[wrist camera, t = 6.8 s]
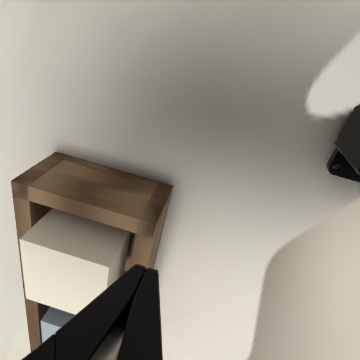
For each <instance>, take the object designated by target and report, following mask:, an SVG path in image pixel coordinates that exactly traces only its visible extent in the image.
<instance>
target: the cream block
mask: <svg viewBox="0 0 360 360" xmlns="http://www.w3.org/2000/svg"><path fill="white" fill-rule="evenodd" d="M130 233H131V232H130V231H127V230H123V229H120V228H117V227H113V226H110V225H107V224H104V223H100V222H97V221H94V220H91V219H87V218H84V217H81V216H77V215H74V214H71V213H68V212H64V211H61V210H58V209H55V208H52V209H51V210H50V211H49V212H48V213H47V214H46V215H45V216H43V217H42V218H41V219H40V220H39V221H38V222H37V223H36V224H35V225H34V226H33V227H32V228H31V229H30V230H29V231H27V232H26V233H25V234H24V235H23V236H22V237H21V238H20V239H19V241H20V250H21V259H22V267H23V276H24V285H25V294H26V299H29V300H32V301H35V302H38V303H41V304H44V305H47V306H50V307H54V308H57V309H60V310H63V311H66V312H69V313H72V314H75V315H76V314H77V313H78V312H80V311H81V310H82V309H83V308H84V307H85V306H87V305H88V304H89V303H90V302H91V301H92V300H94V299H95V298H96V297H97V296H98V295H100V294H101V293H102V292H103V291H104V290H105V289H107V288H108V287H109V286H110V285H111V284H112V283H114V282H115V281H116V280H117V279H118V278H119V277H121V276H122V275H123V274H124V270H125V264H126V258H127V252H128V246H129V240H130Z"/></svg>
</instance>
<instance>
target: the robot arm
mask: <svg viewBox="0 0 360 360" xmlns="http://www.w3.org/2000/svg"><path fill="white" fill-rule="evenodd" d="M335 145H336V147H337V148H336V150H335V151H334V153H333V155H332V157H331V159H330V160H329V162H328V164H327V169H328V171H329V172H330V173H331V174H333V175H336V176H339V177H343V178H346V179H350V180H354V181H357V182H360V105H358V106H356V107H355V108H354V110H353V112H352V114H351V115H350V117H349V119H348V121H347V123H346V124H345V126H344V128H343V130H342V132H341V134H340V135H339V137H338V139H337V141H336V143H335ZM335 165H339V167H338V168H337V169H333V167H334V166H335ZM119 347H120V348H119ZM118 349H119V352H118V356H117V359H116V360H163V356H162V336H161V315H160V295H159V274H158V271H157V270H155V269H152V268H146V267H145V266H142V265H139V264H135V265H134V266H132V267H131V268H130V269H129V270H128V271H127V272H125V273H124V274H123V275H122V276H121V277H119V278H118V279H117V280H116V281H115V282H114V283H112V284H111V285H110V286H109V287H108V288H107V289H105V290H104V291H103V292H102V293H101V294H100V295H98V296H97V297H96V298H95V299H94V300H92V301H91V302H90V303H89V304H88V305H87V306H85V307H84V308H83V309H82V310H81V311H80V312H78V313H77V314H76V315H75V316H74V317H72V318H71V319H70V320H69V321H68V322H67V323H65V324H64V325H63V326H62V327H61V328H60V329H58V330H57V331H56V332H55V334H52V335H51V336H50V337H49V338H48V339H46V340H45V341H44V342H43V343H42V344H41V345H39V346H38V347H37V348H36V349H34V350H33V351H32V352H31V353H29V354H28V355H27V356H26V357H24V358H23V359H22V360H113V359H114V357H115V355H116V353H117V351H118Z"/></svg>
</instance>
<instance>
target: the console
mask: <svg viewBox="0 0 360 360" xmlns="http://www.w3.org/2000/svg"><path fill="white" fill-rule="evenodd" d="M11 185H12V193H13V202H14V211H15V219H16V228H17V236H18V245H19V253H20V262H21V271H22V279H23V288H24V296H25V305H26V314H27V322H28V331H29V339H30V348H31V352H32V351H33V350H34V349H36V348H37V347H38V346H39V345H41V344H42V332H41V320H42V318H43V317H44V315H45V314H46V312H47V311H48V309H49V308H50V306H47V305H44V304H41V303H38V302H35V301H32V300H29V299H26V294H25V285H24V276H23V267H22V259H21V250H20V241H19V239H20V238H21V237H22V236H23V235H24V234H25V233H26V232H27V231H29V230H30V229H31V228H32V227H33V226H34V225H35V224H36V223H37V222H38V221H39V220H40V219H41V218H42V217H43V216H45V215H46V214H47V213H48V212H49V211H50V210H51V209H52V208H55V209H58V210H61V211H64V212H68V213H71V214H74V215H77V216H81V217H84V218H87V219H91V220H94V221H97V222H100V223H104V224H107V225H110V226H113V227H117V228H120V229H123V230H127V231H130V232H131V233H130V240H129V246H128V252H127V258H126V264H125V270H124V273H125V272H127V271H128V270H129V269H130V268H131V267H132V266H134V265H135V264H139V265H142V266H145V267H146V268H152V269H153V267H154V263H155V259H156V255H157V251H158V247H159V242H160V238H161V234H162V230H163V226H164V222H165V217H166V213H167V209H168V205H169V201H170V197H171V193H172V188H173V186H170V185H167V184H163V183H160V182H156V181H153V180H149V179H146V178H143V177H139V176H136V175H132V174H129V173H125V172H122V171H119V170H115V169H112V168H108V167H105V166H102V165H98V164H95V163H91V162H88V161H84V160H81V159H78V158H74V157H71V156H67V155H64V154H61V153H57V152H55V153H53V154H52V155H50V156H49V157H47V158H46V159H44V160H42V161H41V162H39V163H38V164H36V165H35V166H33V167H32V168H30V169H29V170H27V171H26V172H24V173H22V174H21V175H19V176H18V177H16V178H15V179H13V180H12V181H11ZM119 348H120V347H119ZM118 352H119V349H118V351H117V353H116V355H115V357H114V359H113V360H116V359H117V356H118Z"/></svg>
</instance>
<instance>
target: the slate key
mask: <svg viewBox="0 0 360 360" xmlns="http://www.w3.org/2000/svg"><path fill="white" fill-rule="evenodd" d="M74 316H75V314H72V313H69V312H66V311H63V310H60V309H57V308H54V307H50V308H49V309H48V311H47V312H46V314H45V315H44V317H43V318H42V320H41V332H42V343H43V342H44V341H45V340H46V339H48V338H49V337H50V336H51V335H52V334H55V332H56V331H57V330H58V329H60V328H61V327H62V326H63V325H64V324H65V323H67V322H68V321H69V320H70V319H71V318H72V317H74Z"/></svg>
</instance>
